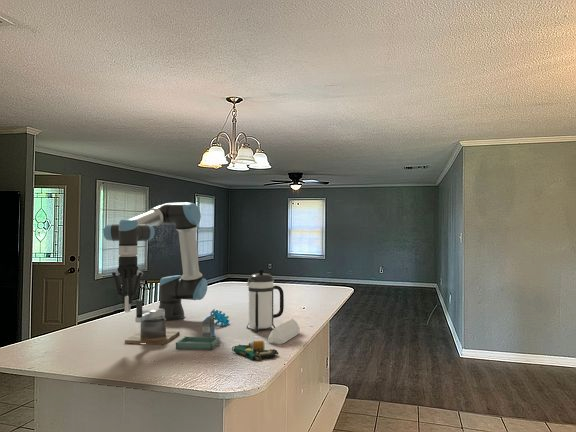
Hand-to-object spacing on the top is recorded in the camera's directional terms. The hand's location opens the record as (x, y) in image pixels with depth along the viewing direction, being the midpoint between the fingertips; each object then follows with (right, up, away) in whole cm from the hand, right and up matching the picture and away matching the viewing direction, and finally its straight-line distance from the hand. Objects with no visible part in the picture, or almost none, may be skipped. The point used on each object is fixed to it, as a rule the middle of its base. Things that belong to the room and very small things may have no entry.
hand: (127, 311), depth 184 cm
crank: (+6, -6, +8) cm, 12 cm away
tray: (+30, -15, +1) cm, 33 cm away
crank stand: (+7, -15, +13) cm, 21 cm away
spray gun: (+55, -15, -11) cm, 58 cm away
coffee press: (+56, -16, +32) cm, 66 cm away
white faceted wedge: (+66, -16, +14) cm, 70 cm away
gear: (+34, -16, +40) cm, 55 cm away
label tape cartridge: (+31, -16, +16) cm, 39 cm away
